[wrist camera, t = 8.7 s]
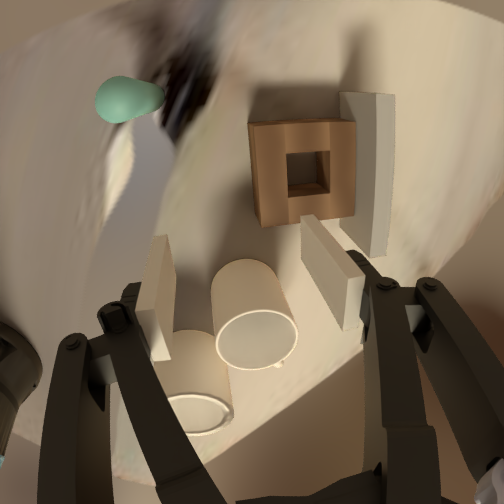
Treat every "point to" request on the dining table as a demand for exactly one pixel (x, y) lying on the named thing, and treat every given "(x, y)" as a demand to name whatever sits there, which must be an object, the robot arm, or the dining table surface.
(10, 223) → the dining table surface
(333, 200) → the block
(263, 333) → the cup
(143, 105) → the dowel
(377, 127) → the wall
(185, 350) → the mug
